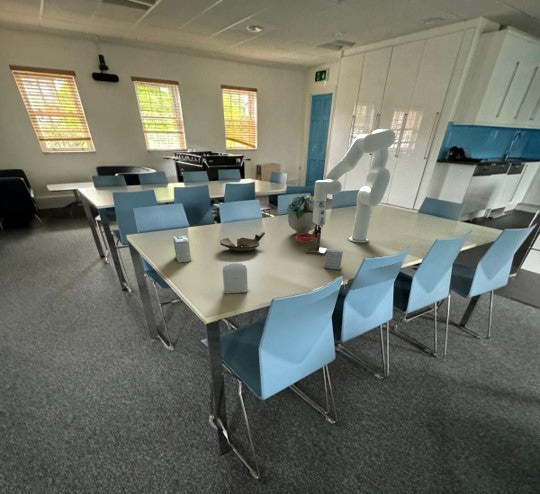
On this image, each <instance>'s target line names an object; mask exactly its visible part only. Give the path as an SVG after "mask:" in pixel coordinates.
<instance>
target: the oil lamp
mask: <svg viewBox="0 0 540 494" xmlns="http://www.w3.org/2000/svg"><path fill="white" fill-rule="evenodd" d="M265 235H266V232H265V231H263V232H261V233H260V234H255V235H254V238H248V237H240V238H237V239H236V245H235V243H233V242H232V241H231V239H230V238H229V237H224V238H222V239H221V240H220V242H219V243H220V244H219V245H220V246H222V247H225V248H227V249H230V250H233V251H236V252H249V251H252V250H254V249H256V248H258V247H260V240H261V239H262V238H263V237H264V236H265Z"/></svg>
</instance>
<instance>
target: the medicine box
mask: <svg viewBox="0 0 540 494" xmlns="http://www.w3.org/2000/svg"><path fill="white" fill-rule="evenodd" d="M343 252H344V251H343V250H338V249H330V248H329V249H328V248H327V251H326V252H325V259H324V267H323V268H324V269H331V270H338V271H340V269H341V266H342V260H343Z"/></svg>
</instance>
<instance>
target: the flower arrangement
mask: <svg viewBox="0 0 540 494" xmlns="http://www.w3.org/2000/svg"><path fill="white" fill-rule="evenodd" d="M313 203H314V195H306V194H305V195H300V196H296V197H293V198H292V200H291V201H290V202H289V203H288V205H287V207H286V212H285V214H287V213H288V215H287V222H288V225H289V227H290V228H291V229H292V230H294V231H295V233H296V235H297V234H302V233H308V234H309V232H310V231H314V223H313V221H312V219H313V209H314V207H313Z"/></svg>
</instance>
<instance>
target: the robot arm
mask: <svg viewBox="0 0 540 494" xmlns="http://www.w3.org/2000/svg"><path fill="white" fill-rule="evenodd" d="M395 141H396V132H395V131H394V130H393V129H390V128H388V129H386V128H384V129H383V128H382V129H381V128H379V129H376V130H374V131H372V133H365V134H364V133H361V134H359V135H357V136H356V137H355V139H354V141H353V142H352V144H351V145H350V147H349V148H348V150H347V151H346V153H345V154H344V156H343V157H342V159H341V160H339V162H338V163H337V164H335V166H333V167H332V168H331V169H330V170H329V172H328V173H327V175H326V177H325V178H324V180H321V179H320V180H316V181H315V182H314V191H313V196H314V203H313V207H314V209H313V219H312V221H313V223H314V229H313V231H316V237H317V234H318V233H319V234H321V235H320V236H321V237H322V230H323V229H322V228H324V225H326V219H327V217H326V216H327V208H326V206H327V198H328V195H332V196H333V195H334V196H335V195H338V194H340V193H341V191H342V190H343V189H342V188H343V185H342V183H341V182H340V181H339V180H340V178H341V177H342V176H343V175H345V174H347V173H349V172H351V171H352V170H354V169H355V168H356V166H357V164H358V163H359V162H360V160H361V159H362V158H363V156H364V154H370V153H373V157H372V159H371V163H370V166H369V168H368V171H367V173H366V177H365V181H366V183H367V184H368V185H370V186H371V187H370V186H363V187H361V188H360V189H359V191H358V192H357V195H356V210H355V216H354V221H353V227H352V234H351V236H350V237H348V240H349V242H352V243H357V244H364V243H365V244H366V243H368V242H369V238H367V237H368V232H369V227H370V222H371V216H372V207H377V206H379V204H380V203H381V202H382V200H383V198H384V196H385V193H386V191H387V189H388V187H389V183H390V181H391V173H390V171H389V169H388V168H386V166H387V162H388V159H389V148H390V147H392V146H393V144H395Z"/></svg>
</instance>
